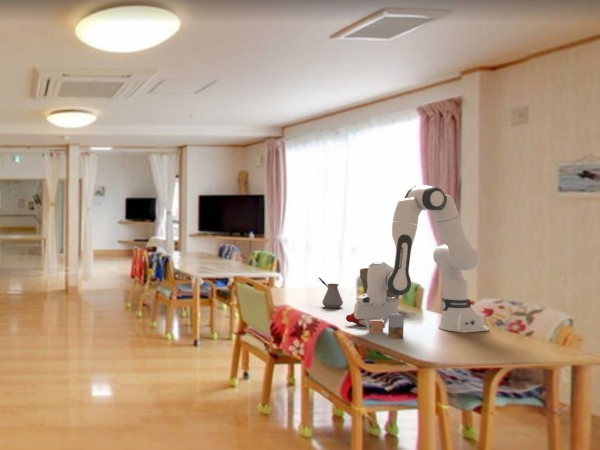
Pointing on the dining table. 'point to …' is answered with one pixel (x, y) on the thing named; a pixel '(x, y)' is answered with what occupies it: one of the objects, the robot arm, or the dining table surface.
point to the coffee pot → (332, 296)
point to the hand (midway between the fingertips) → (376, 328)
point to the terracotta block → (376, 326)
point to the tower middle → (396, 320)
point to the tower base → (395, 332)
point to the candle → (357, 320)
